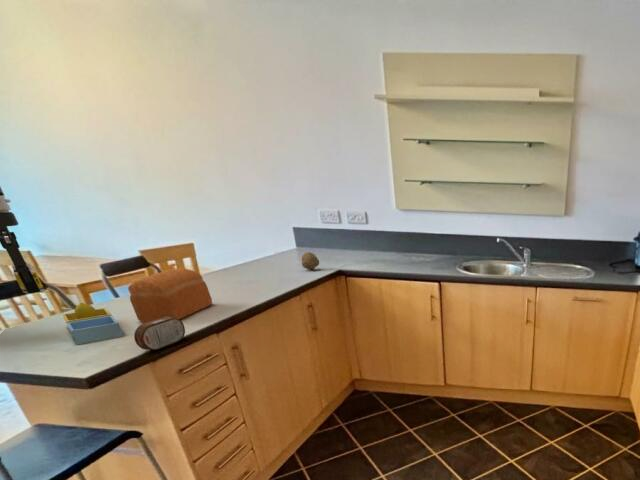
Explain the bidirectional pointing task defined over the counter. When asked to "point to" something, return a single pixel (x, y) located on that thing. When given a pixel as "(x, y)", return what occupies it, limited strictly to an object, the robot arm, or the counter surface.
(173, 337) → the tin
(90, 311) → the lemon
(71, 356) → the counter surface
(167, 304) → the bread
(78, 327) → the blue bin
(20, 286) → the supplement bottle
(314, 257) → the natural sponge
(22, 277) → the robot arm
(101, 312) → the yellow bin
